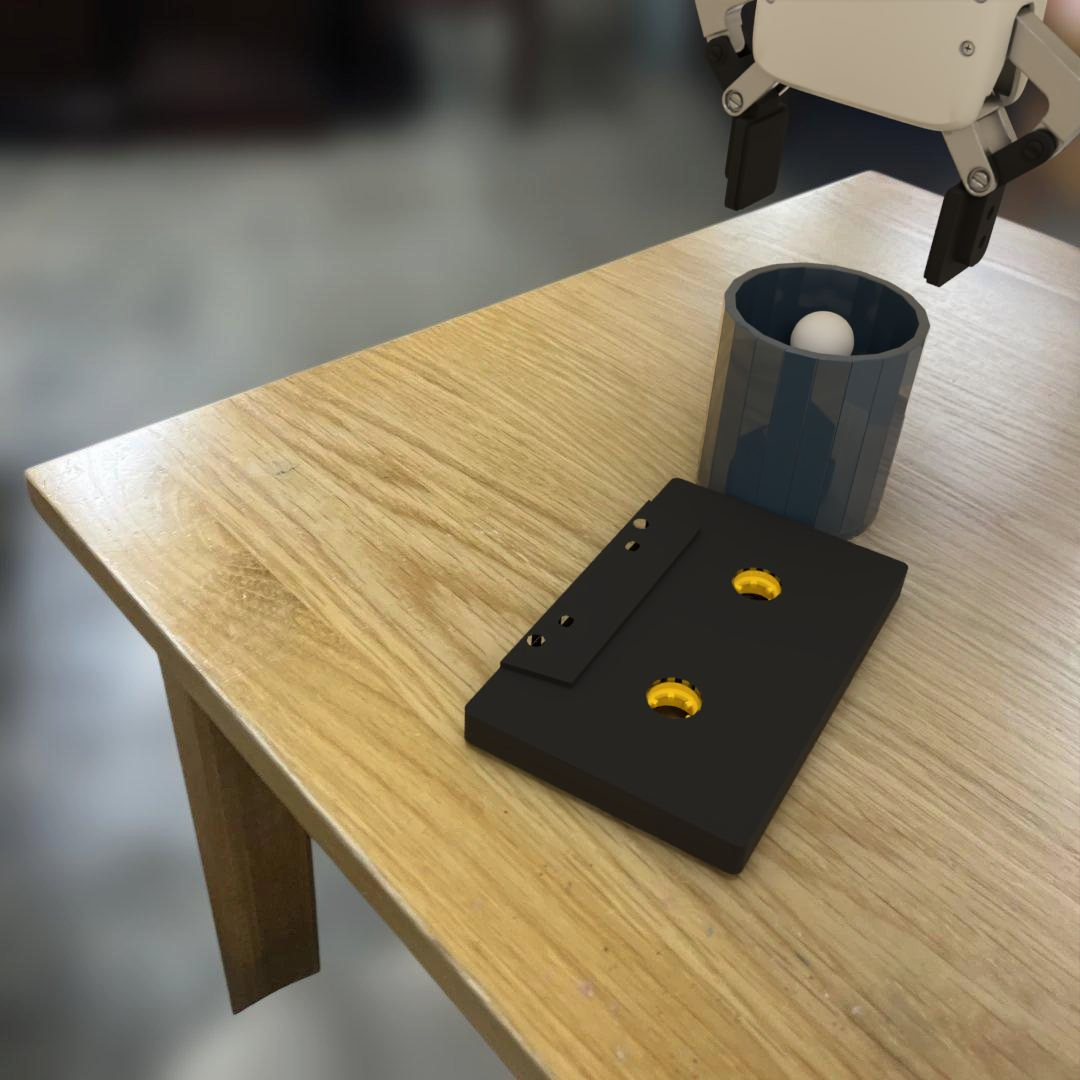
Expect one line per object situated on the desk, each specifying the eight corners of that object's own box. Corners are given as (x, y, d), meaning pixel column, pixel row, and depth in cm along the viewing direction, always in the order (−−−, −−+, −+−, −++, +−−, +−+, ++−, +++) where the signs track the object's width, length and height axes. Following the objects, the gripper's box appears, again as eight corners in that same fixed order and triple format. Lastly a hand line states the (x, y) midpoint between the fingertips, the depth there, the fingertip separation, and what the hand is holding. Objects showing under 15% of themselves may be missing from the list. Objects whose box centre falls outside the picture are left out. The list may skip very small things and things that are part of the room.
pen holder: (761, 417, 66) (794, 244, 59) (912, 489, 61) (965, 310, 55) (659, 488, 60) (684, 306, 54) (817, 572, 56) (864, 384, 49)
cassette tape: (669, 507, 59) (675, 470, 58) (900, 596, 55) (912, 559, 53) (460, 743, 47) (460, 704, 45) (736, 883, 42) (746, 844, 41)
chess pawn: (725, 487, 60) (754, 322, 54) (763, 438, 63) (794, 279, 57) (823, 522, 58) (864, 355, 52) (857, 470, 61) (899, 308, 55)
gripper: (1243, -208, 39) (1074, 276, 50) (788, -271, 48) (727, 154, 59) (1159, -185, 35) (993, 341, 46) (673, -259, 43) (630, 199, 54)
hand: (843, 236), depth 52 cm, fingers open, 9 cm apart
